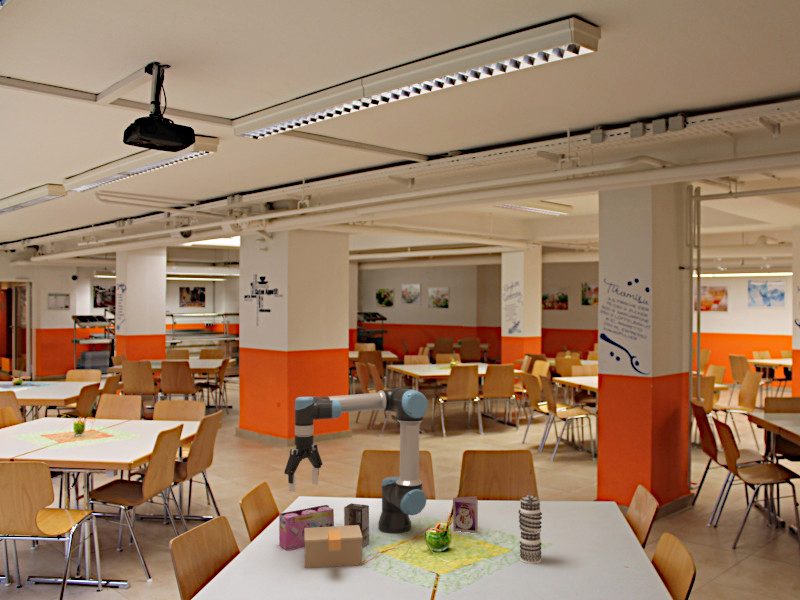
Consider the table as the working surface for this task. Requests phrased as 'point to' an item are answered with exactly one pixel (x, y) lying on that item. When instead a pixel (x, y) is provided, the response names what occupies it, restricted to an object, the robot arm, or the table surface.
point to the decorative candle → (530, 529)
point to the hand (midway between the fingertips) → (303, 487)
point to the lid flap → (332, 535)
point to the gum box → (302, 524)
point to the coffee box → (358, 519)
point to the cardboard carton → (333, 554)
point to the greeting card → (465, 514)
